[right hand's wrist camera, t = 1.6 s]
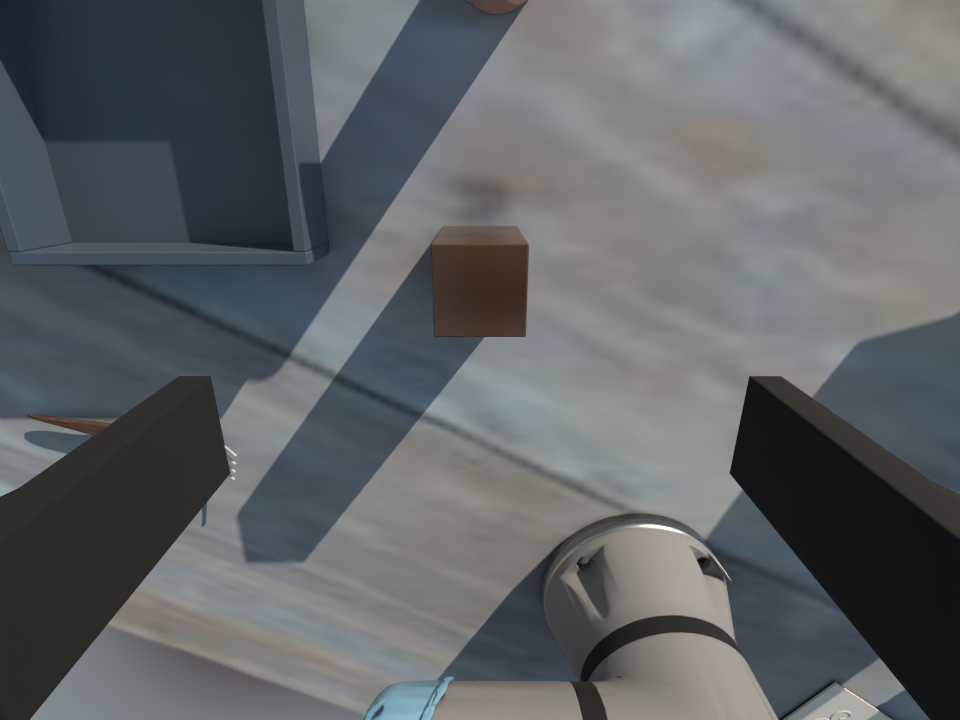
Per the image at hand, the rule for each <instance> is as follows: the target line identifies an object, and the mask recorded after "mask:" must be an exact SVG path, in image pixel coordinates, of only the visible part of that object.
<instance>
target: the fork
mask: <svg viewBox="0 0 960 720" xmlns="http://www.w3.org/2000/svg"><path fill="white" fill-rule="evenodd" d="M28 417H30V418H32V419H35V420H39V421H42V422H46V423H49V424H53V425H57V426H61V427H65V428H69V429H72V430H76V431H79V432H83V433H86V434H90V435H96V434H97V433H99V432H100V431H101V430H103V429H104V428H106V427H107V426H109V425H110V424H109V423H103V422H95V421H85V420H75V419H67V418H59V417H52V416H44V415H33V414H29V415H28ZM225 450H227V451H228V452H230V453H231V454H232V455H234V456H235V457H236V456H237V455H236V454H235V453H234V452H233V451H232V450H230V449H229V448H228V447H227V446H225ZM227 459H228V460H229V461H230V462H232V463H233V464H236V462H234V461H233V460H232V459H231V458H230V457H229V456H227ZM229 469H230V470H231V471H232V472H236V471H235V470H234V469H233V468H232V467H231V466H229ZM228 477H230V478H231V479H232V480H235V478H234V477H233V476H231V475H230V474H229V475H228Z"/></svg>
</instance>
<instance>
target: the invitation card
mask: <svg viewBox="0 0 960 720" xmlns="http://www.w3.org/2000/svg"><path fill="white" fill-rule="evenodd" d="M783 720H893V719H891V718H890V717H888V716H887V715H885V714H884V713H882V712H881V711H879V710H878V709H876V708H875V707H873V706H871V705H870V704H868V703H867V702H865V701H864V700H862V699H861V698H859V697H858V696H856V695H855V694H853V693H851V692H850V691H848V690H847V689H845V688H844V687H842V686H841V685H839V684H838V683H836V682H834V683H833V684H832V685H830V686H829V687H827V688H826V689H825V690H823V691H822V692H820V693H819V694H818V695H816V696H815V697H814V698H812V699H811V700H809V701H808V702H807V703H805V704H804V705H802V706H801V707H800V708H798V709H797V710H795V711H794V712H793V713H791V714H790V715H789V716H787V717H786V718H784V719H783Z"/></svg>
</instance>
